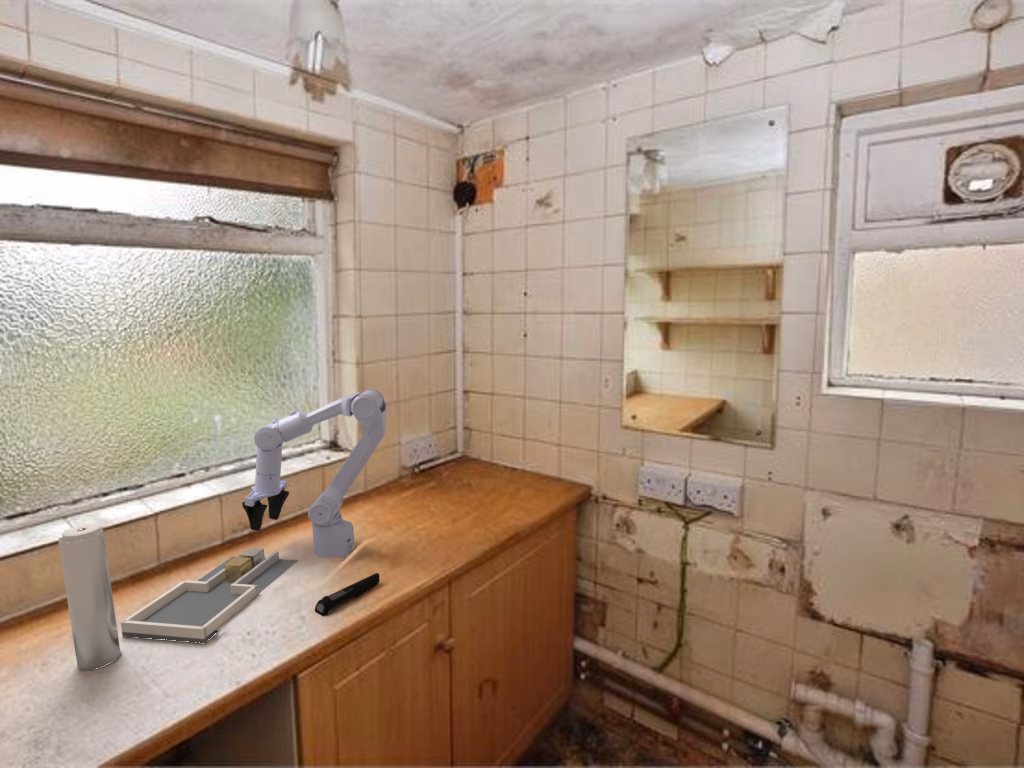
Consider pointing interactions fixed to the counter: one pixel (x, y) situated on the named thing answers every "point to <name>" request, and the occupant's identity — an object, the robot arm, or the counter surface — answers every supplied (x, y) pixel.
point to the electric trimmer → (346, 594)
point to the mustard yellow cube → (237, 568)
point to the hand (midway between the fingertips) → (264, 524)
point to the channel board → (202, 603)
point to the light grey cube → (253, 555)
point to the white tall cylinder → (89, 596)
